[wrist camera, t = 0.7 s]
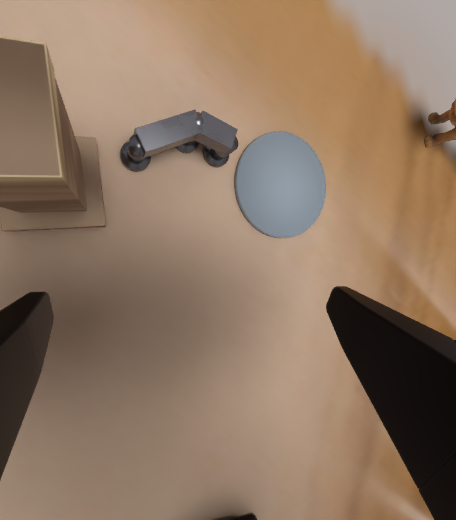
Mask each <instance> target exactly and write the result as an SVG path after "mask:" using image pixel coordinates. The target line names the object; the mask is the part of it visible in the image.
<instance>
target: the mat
mask: <svg viewBox="0 0 456 520" xmlns="http://www.w3.org/2000/svg"><path fill="white" fill-rule="evenodd" d="M235 192H236V198H237V201H238V204H239V207H240V209H241V211H242V213H243V214H244V216H245V218H246V219H247V220H248V222H249V223H250V224H251V225H252V226H253V227H254V228H256V229H257V230H258V231H260V232H262V233H263V234H266V235H268V236H272V237H278V238H287V237H293V236H296V235H299V234H301V233H303V232H304V231H306V230H307V229H308V228H310V227H311V226H312V225H313V223H314V222H315V221H316V219H317V218H318V216H319V214H320V212H321V210H322V208H323V204H324V200H325V194H326V181H325V175H324V170H323V167H322V164H321V162H320V160H319V158H318V156H317V154H316V153H315V151H314V150H313V149H312V147H311V146H310V145H309V144H308V143H307V142H305V141H304V140H303V139H301V138H300V137H298V136H296V135H294V134H291V133H288V132H281V131H278V132H270V133H267V134H264V135H262V136H261V137H259V138H257V139H256V140H254V141H253V142H252V143H251V144H250V145H249V146H248V147H247V148H246V149H245V150H244V152H243V154H242V155H241V157H240V159H239V162H238V165H237V168H236V173H235Z"/></svg>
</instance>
